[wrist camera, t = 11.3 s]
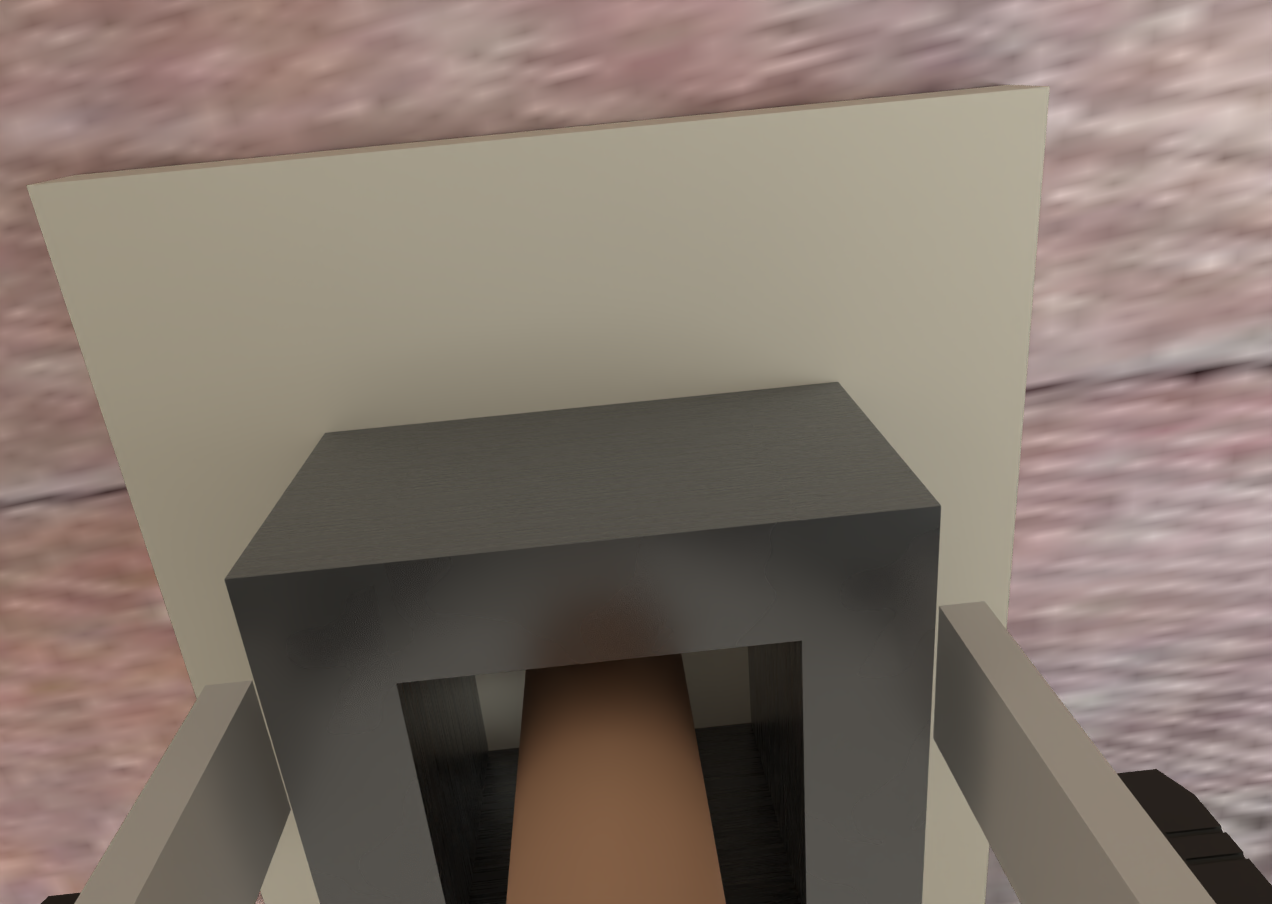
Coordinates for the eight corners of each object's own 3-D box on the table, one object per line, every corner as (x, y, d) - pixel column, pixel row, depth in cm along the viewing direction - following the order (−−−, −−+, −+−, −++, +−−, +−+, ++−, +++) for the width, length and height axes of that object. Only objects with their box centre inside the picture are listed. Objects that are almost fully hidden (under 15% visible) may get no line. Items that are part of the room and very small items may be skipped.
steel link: (838, 381, 16) (941, 505, 12) (837, 781, 20) (917, 998, 15) (325, 432, 16) (224, 579, 11) (415, 827, 20) (366, 1062, 15)
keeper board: (1008, 85, 16) (1671, 111, 6) (959, 863, 23) (1238, 1444, 13) (74, 174, 16) (-740, 349, 6) (312, 937, 23) (114, 1589, 13)
